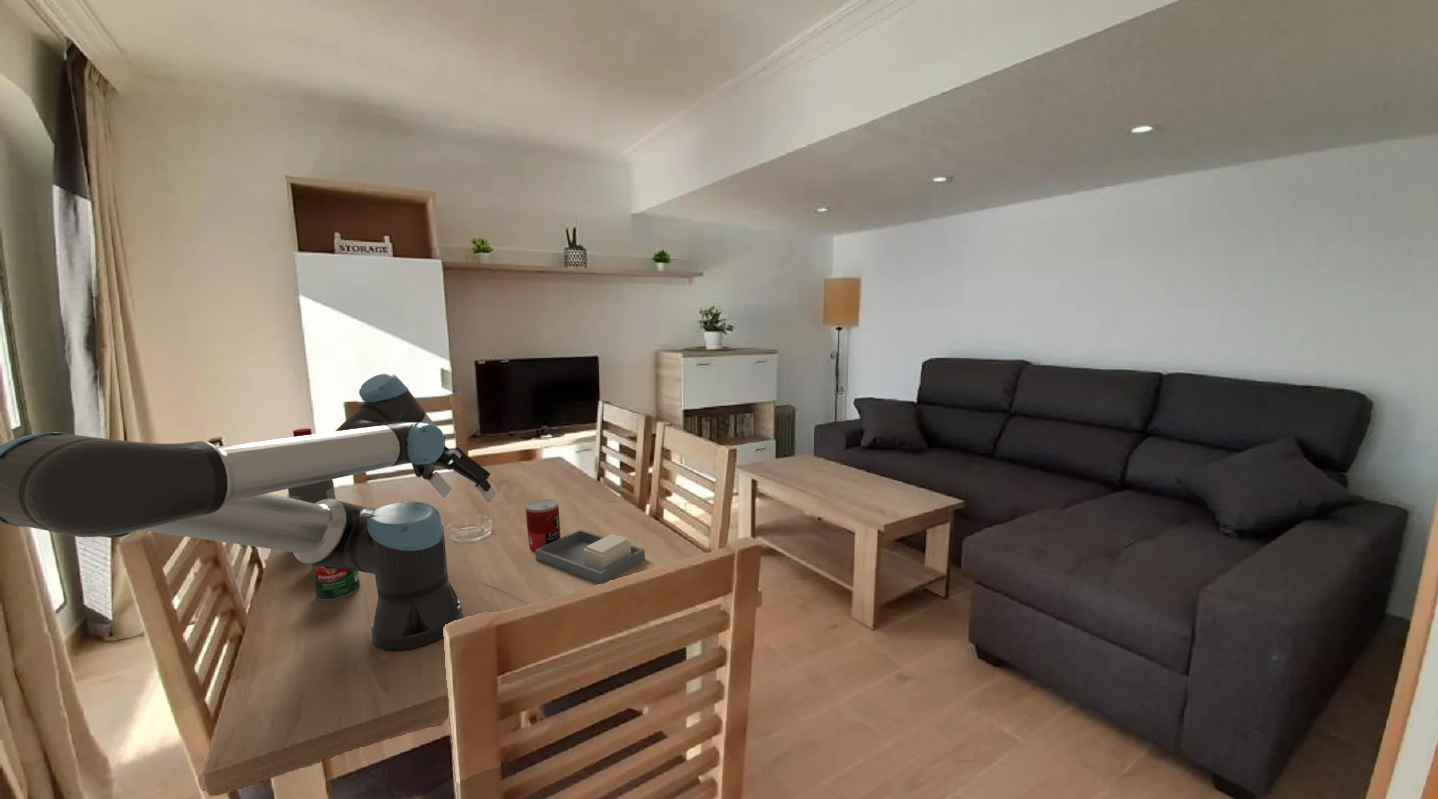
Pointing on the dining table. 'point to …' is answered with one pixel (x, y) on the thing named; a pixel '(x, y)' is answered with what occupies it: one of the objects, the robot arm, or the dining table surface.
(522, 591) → the dining table surface
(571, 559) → the tray
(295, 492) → the liquor
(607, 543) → the off-white rectangular block
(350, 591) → the canned tomato
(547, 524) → the canned food
